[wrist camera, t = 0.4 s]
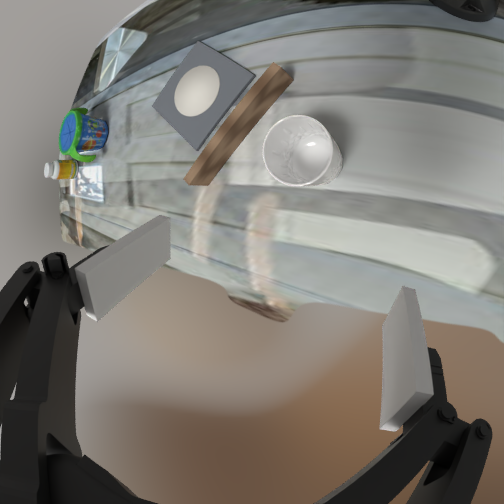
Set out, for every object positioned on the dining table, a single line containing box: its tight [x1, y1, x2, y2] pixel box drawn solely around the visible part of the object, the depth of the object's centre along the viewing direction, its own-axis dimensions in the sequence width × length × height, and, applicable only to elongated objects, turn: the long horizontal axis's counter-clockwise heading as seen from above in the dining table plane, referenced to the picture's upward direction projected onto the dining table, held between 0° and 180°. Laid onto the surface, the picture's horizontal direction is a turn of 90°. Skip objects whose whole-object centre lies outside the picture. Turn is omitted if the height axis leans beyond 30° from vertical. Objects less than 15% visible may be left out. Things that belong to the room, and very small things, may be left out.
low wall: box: [184, 62, 293, 186], centre depth 39 cm, size 22×2×5 cm, turn 137°
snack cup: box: [59, 108, 108, 162], centre depth 54 cm, size 16×10×10 cm
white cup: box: [262, 115, 343, 186], centre depth 33 cm, size 8×8×10 cm
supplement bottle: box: [44, 160, 78, 179], centre depth 62 cm, size 5×5×10 cm
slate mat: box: [152, 41, 256, 151], centre depth 43 cm, size 16×16×1 cm
